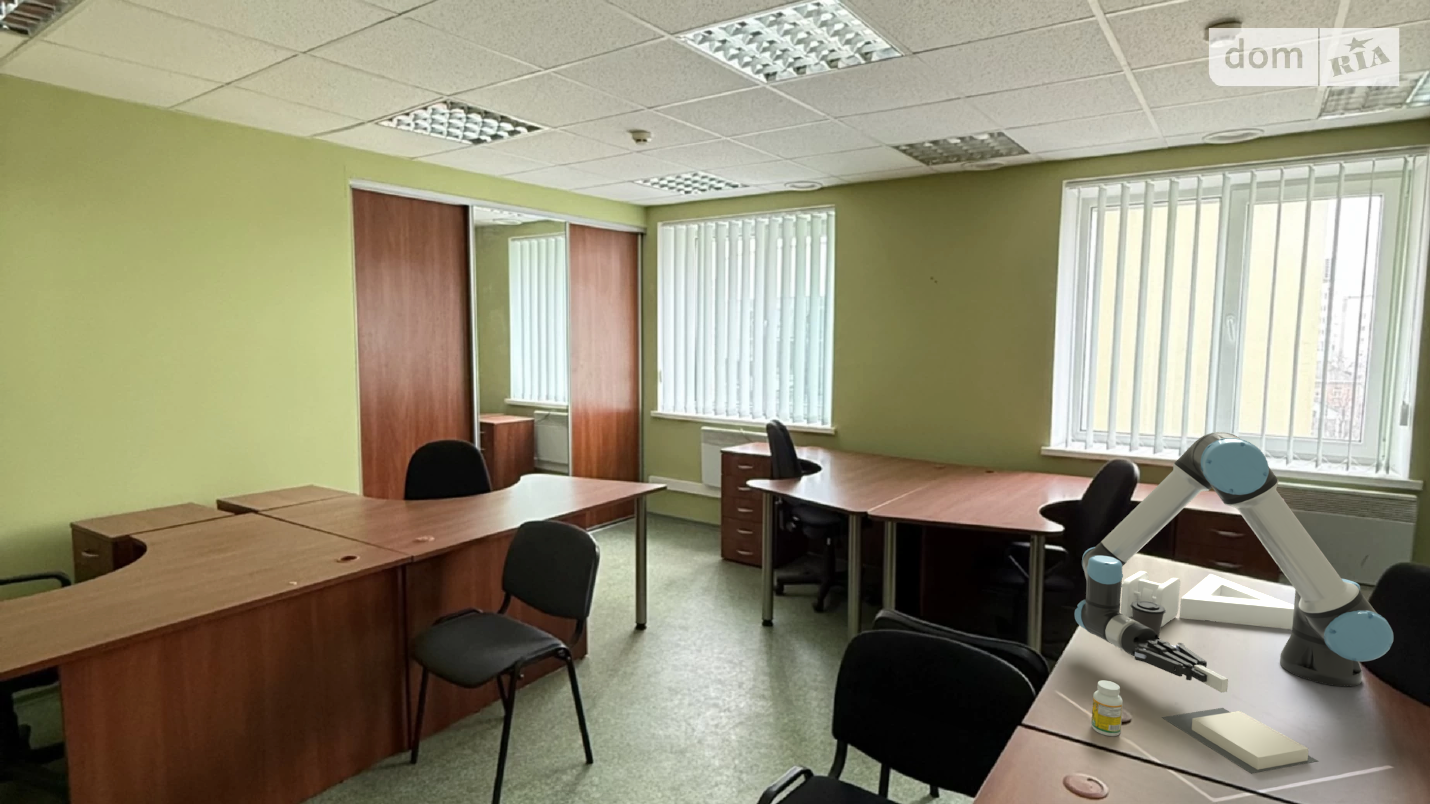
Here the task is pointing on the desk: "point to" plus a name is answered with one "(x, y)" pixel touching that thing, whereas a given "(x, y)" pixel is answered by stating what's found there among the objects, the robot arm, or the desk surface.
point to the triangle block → (1234, 605)
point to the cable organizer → (1150, 594)
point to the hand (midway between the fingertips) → (1224, 685)
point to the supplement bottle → (1107, 709)
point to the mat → (1186, 725)
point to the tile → (1250, 740)
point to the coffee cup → (1148, 614)
